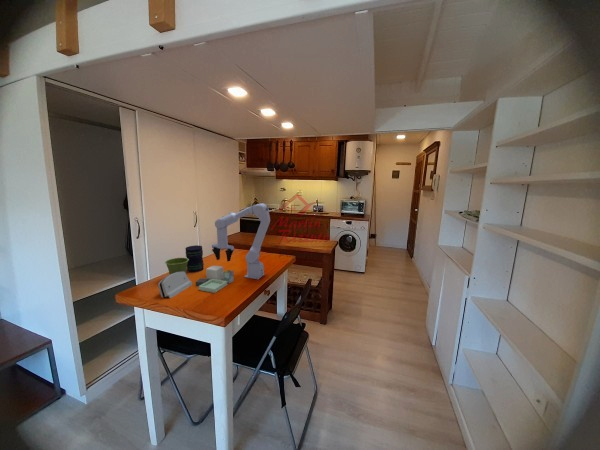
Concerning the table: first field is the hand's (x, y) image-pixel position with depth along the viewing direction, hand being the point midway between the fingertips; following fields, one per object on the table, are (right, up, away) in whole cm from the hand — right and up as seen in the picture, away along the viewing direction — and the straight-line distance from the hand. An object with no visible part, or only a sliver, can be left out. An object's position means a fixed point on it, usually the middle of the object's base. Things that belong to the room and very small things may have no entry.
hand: (223, 260), depth 135 cm
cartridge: (+6, -11, -9) cm, 15 cm away
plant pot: (-24, -10, -6) cm, 27 cm away
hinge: (-18, -13, -20) cm, 29 cm away
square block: (-7, -12, -12) cm, 18 cm away
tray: (0, -12, -16) cm, 20 cm away
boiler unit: (-3, -10, -6) cm, 12 cm away
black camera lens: (-21, -8, +8) cm, 24 cm away
